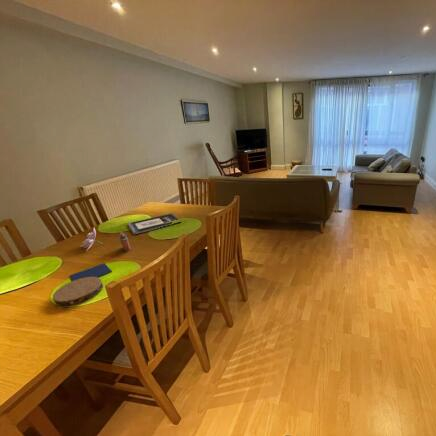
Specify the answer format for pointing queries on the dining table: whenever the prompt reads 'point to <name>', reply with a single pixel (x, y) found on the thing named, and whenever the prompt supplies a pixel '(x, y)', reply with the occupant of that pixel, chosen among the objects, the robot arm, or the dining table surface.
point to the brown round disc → (78, 291)
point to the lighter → (124, 242)
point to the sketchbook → (151, 223)
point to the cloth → (92, 272)
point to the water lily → (90, 239)
